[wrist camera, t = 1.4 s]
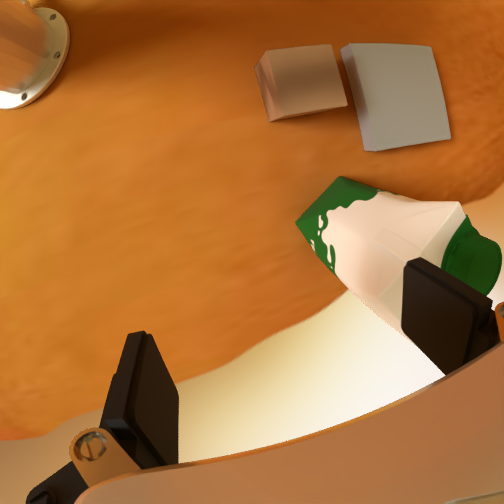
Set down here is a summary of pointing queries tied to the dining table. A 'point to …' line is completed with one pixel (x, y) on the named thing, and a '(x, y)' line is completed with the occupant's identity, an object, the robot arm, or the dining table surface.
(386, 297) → the soya milk
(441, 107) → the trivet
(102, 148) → the dining table surface
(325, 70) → the walnut block
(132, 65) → the dining table surface
